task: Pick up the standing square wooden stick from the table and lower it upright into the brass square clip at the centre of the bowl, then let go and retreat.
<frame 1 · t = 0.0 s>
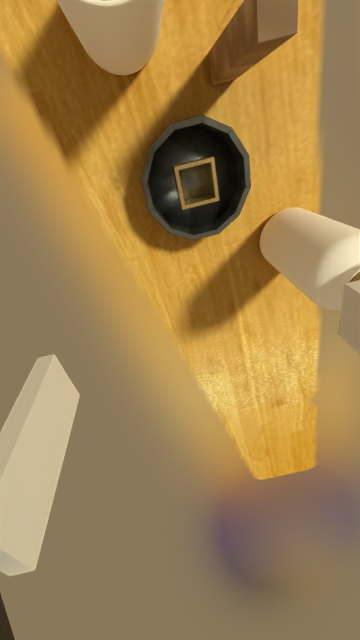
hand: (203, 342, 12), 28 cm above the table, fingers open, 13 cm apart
bowl: (192, 181, 34), on the table
cup: (117, 19, 26), on the table
potion bottle: (284, 235, 39), on the table
square wooden stick: (221, 67, 28), on the table
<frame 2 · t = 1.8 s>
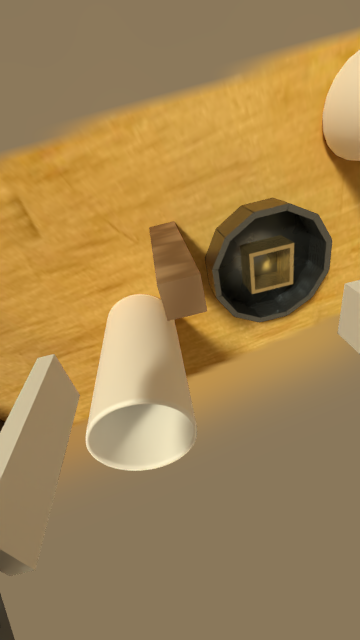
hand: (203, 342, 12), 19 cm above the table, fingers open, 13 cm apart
bowl: (259, 258, 31), on the table
cup: (141, 322, 33), on the table
square wooden stick: (164, 237, 28), on the table
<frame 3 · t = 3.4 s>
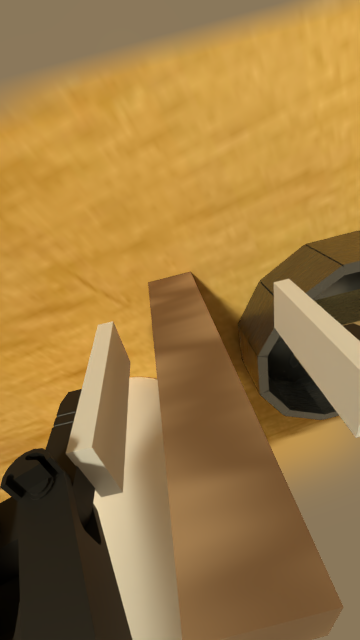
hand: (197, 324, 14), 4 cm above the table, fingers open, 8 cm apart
bowl: (322, 321, 19), on the table
cup: (136, 411, 22), on the table
square wooden stick: (174, 295, 17), on the table
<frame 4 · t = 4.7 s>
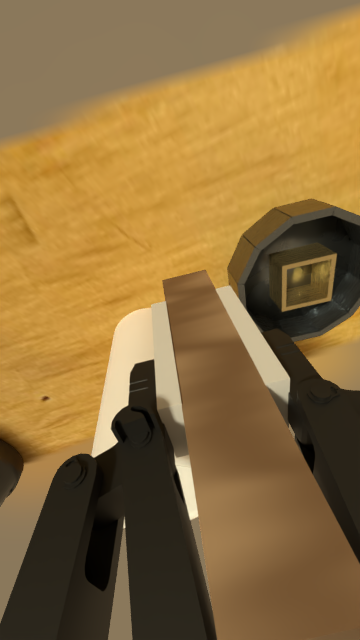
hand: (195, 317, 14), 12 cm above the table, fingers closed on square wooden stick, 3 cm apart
bowl: (290, 269, 26), on the table
cup: (151, 338, 30), on the table
square wooden stick: (188, 294, 16), point 9 cm above the table, touching gripper
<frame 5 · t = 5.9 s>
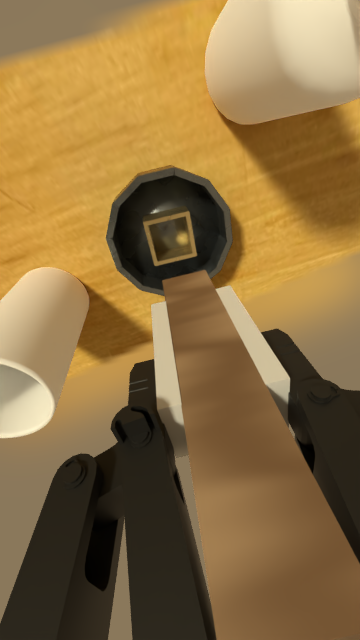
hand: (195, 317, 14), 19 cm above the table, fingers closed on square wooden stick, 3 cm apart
bowl: (168, 231, 30), on the table
cup: (54, 298, 33), on the table
potion bottle: (248, 67, 24), on the table
square wooden stick: (187, 294, 16), point 16 cm above the table, touching gripper
when the fingers open (5 cm above the table, at t = 8.2 s): square wooden stick drops 1 cm, resting on bowl.
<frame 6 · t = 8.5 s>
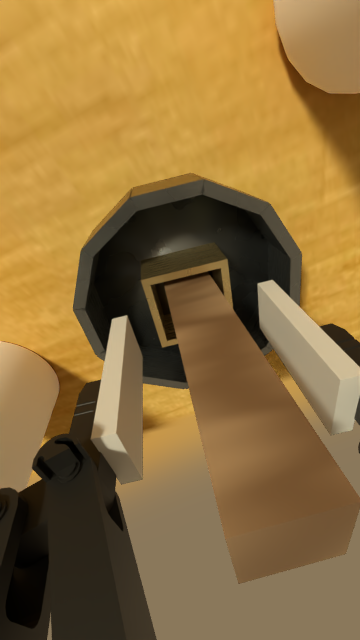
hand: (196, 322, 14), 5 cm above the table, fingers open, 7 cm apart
bowl: (184, 282, 18), on the table
cup: (4, 380, 21), on the table
square wooden stick: (184, 285, 18), resting on bowl
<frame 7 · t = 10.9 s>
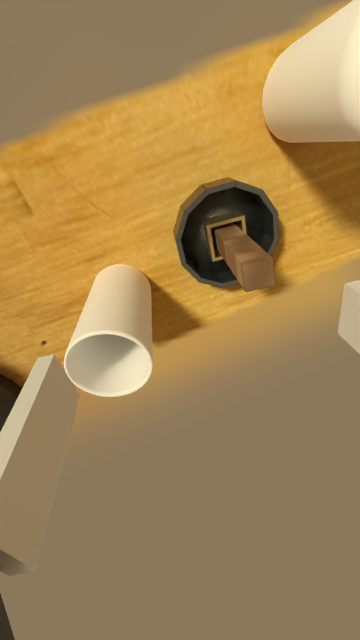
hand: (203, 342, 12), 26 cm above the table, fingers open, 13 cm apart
bowl: (221, 232, 35), on the table
cup: (122, 290, 39), on the table
potion bottle: (296, 96, 29), on the table
square wooden stick: (222, 232, 35), resting on bowl
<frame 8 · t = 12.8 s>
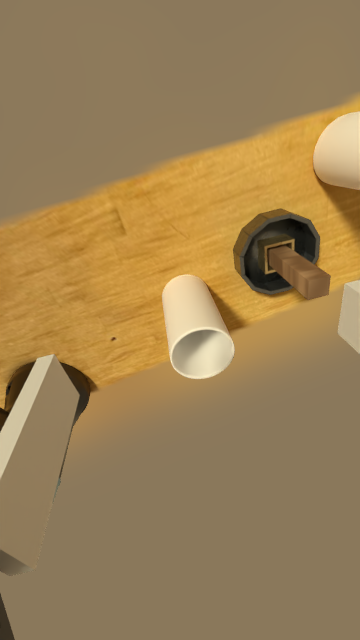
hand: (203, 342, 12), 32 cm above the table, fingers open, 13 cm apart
bowl: (270, 250, 44), on the table
cup: (185, 295, 47), on the table
potion bottle: (337, 151, 38), on the table
square wooden stick: (271, 250, 44), resting on bowl
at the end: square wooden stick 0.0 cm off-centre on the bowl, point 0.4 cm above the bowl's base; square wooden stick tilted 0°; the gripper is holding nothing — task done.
